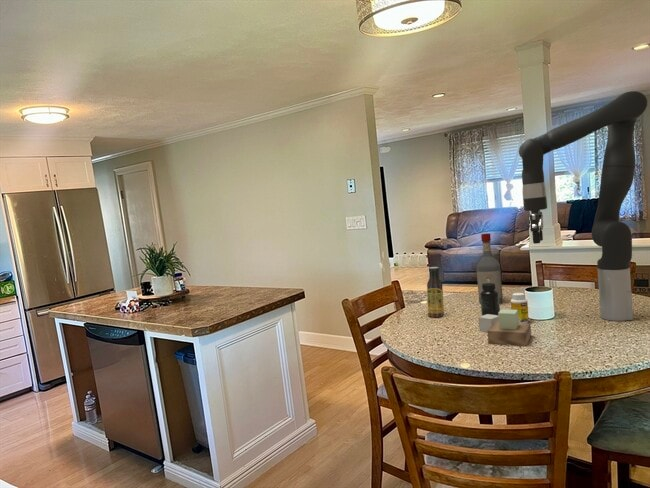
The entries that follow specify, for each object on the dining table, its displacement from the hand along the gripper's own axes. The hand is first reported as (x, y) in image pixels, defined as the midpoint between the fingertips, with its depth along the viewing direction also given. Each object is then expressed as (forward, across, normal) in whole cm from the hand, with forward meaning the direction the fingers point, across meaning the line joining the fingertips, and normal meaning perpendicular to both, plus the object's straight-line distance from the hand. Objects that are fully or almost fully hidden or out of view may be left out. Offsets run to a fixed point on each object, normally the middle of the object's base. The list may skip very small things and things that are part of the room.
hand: (538, 242), depth 158 cm
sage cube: (+24, -27, +7) cm, 36 cm away
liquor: (+28, +23, +23) cm, 43 cm away
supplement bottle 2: (+28, -6, +7) cm, 30 cm away
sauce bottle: (+28, -2, +39) cm, 48 cm away
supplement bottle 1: (+28, +3, +19) cm, 34 cm away
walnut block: (+28, -27, +7) cm, 39 cm away
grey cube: (+28, -18, +15) cm, 36 cm away
